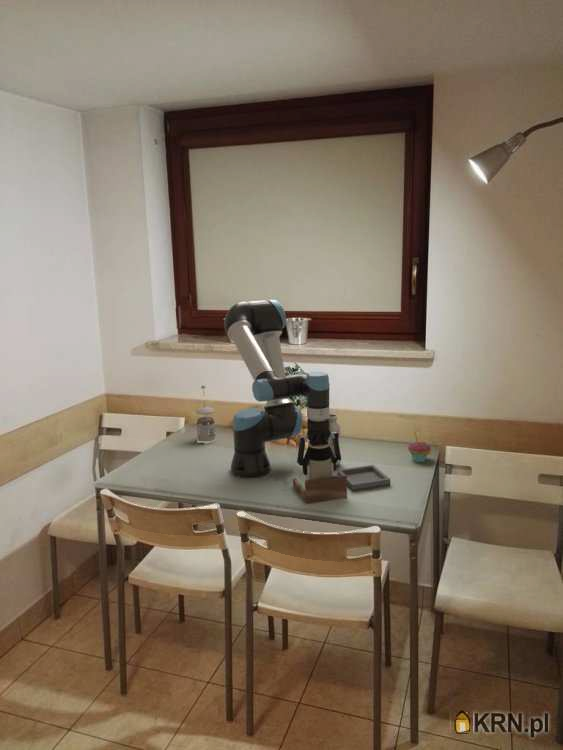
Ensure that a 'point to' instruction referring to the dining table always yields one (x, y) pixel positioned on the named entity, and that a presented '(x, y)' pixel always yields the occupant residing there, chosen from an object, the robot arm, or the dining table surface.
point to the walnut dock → (322, 489)
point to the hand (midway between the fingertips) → (319, 481)
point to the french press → (205, 423)
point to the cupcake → (419, 450)
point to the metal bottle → (333, 427)
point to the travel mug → (320, 461)
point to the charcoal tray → (364, 478)
